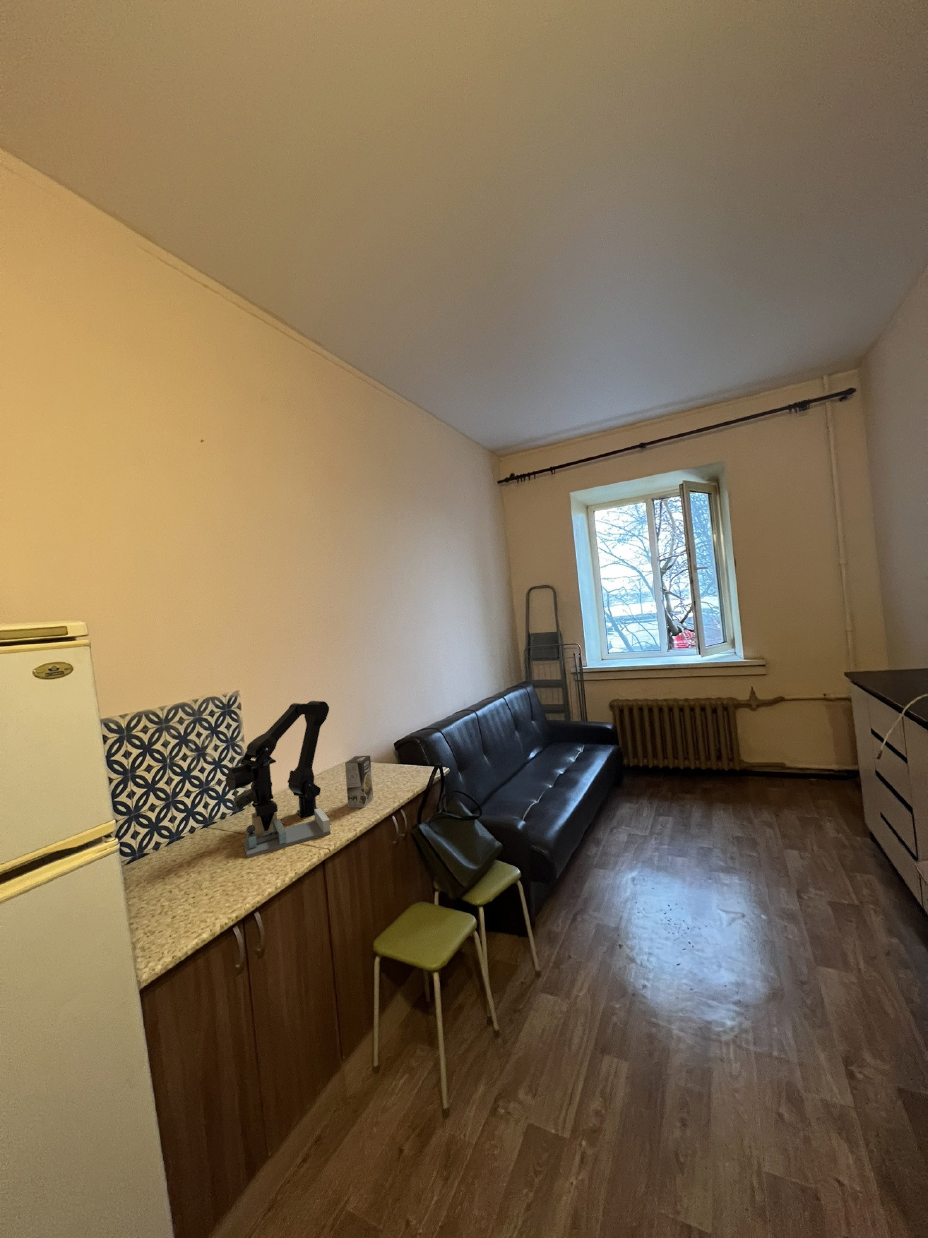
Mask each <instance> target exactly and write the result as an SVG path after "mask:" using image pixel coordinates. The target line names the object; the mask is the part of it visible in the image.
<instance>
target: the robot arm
mask: <svg viewBox="0 0 928 1238" xmlns="http://www.w3.org/2000/svg"><path fill="white" fill-rule="evenodd" d="M329 712H330V706H329V705H328V703H327V701H323V700H321V701H320V700H309V701H308V702H307V703H298V702H297V703H296V702H294V703H291V704H290V705H289V706H288V708H287V709H286V710H285V712H284V713H282V715H281V716H280V717H279V718H278V719H277V720H276V721H275V722H274V723H273V725H271V726H270V728H268V729H267V731H265V732H264V733H263V734H260V735H259V736H257V737H256V738H254V739H253V740H252V741H250V742H249V743H248V744H247V746H246V751H245V753H244V755H243V757H242V758H241V761H240V762H239V765H236V766H230V767H229V768H228V772H227V773H226V775H225V784H226V787H227V788H228V789H229V791H235V790H238V789H240V788H241V789H242V788H243V787H246V786H249V785H250V788H248V789H247V790H244V791H243V792H241V793H239V794H238V795H236V796H235V797H233V802H234V805H235V807H236V808H237V810H238V811H240V810H243V809H244V808H245V807H246V806H248V805H250V804H251V805H252V807H253V808H254V813H255V814H256V817H261V821H262V824H263V828H264V831H268V829H269V826H270V824H271V821H272V818H273V816H274V813H275V812H276V813H277V812H278V809H279V808H278V807H279V806H278V804H277V802H276V801H274V800H273V799H274V795H273V788H272V787H273V782H272V776H271V775H272V774H271V765H272V764H275V763H276V762H277V759H274V758H273V757H272V756H271V755H273V752H274V751H275V749H276V747H277V745H278V741H279V740H280V739H281V738H282V737H283V736H284V734H286V732H287V731H288V730H289V729H290V728H291V727H292V725H294V724H295V722H296V721H297V720H298V719H299V717H301V716H302V715H304V720H305V723H306V725H305V731H304V736H303V738H302V739H303V741H302V745H301V750H300V753H299V759H298V763H297V766H296V767H295V768H294V770H289V775H288V777H289V778H288V780H287V782H286V783H288V789H289V791H290V792H292V793H293V795H294V796H296V797H298V807H299V808H298V810H297V811H296V813H297V814H298V816H299V817H300V818H305V817H308V816H311V815H315V812H314V809H318V807H317V799H316V798H317V797H318V796H320V794H321V790H322V789H321V787H319V786H318V785H316V784H315V775H314V771H313V765H314V760H315V754H316V752H317V751H316V749H317V745H318V740H319V736H320V729H321V728H322V725H323V724H324V722H325V721H326V720H327V718H328V715H329Z"/></svg>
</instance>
